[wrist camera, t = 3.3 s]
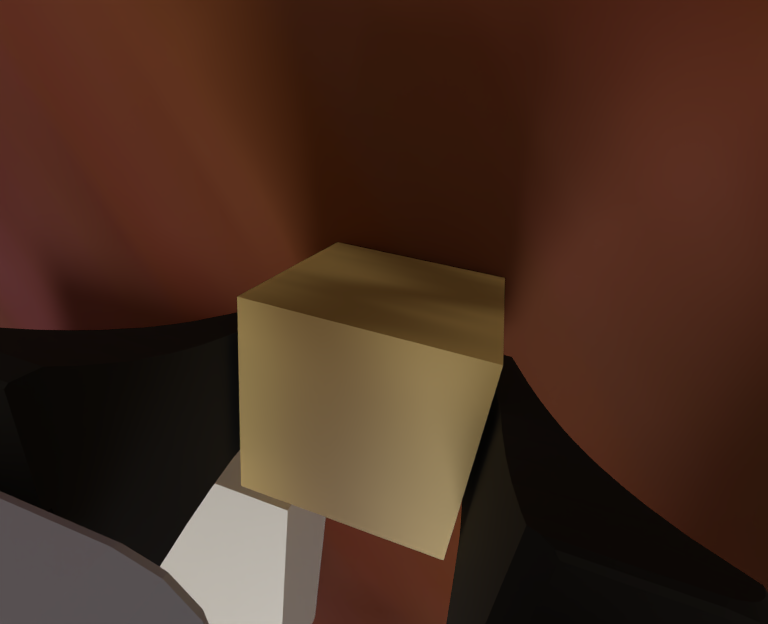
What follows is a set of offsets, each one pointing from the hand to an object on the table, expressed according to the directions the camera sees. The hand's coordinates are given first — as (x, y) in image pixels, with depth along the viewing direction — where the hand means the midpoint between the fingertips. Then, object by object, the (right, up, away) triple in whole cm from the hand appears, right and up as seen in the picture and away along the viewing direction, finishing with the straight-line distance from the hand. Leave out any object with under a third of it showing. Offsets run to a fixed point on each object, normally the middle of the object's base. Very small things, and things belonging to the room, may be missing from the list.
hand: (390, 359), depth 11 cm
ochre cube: (0, +1, +1) cm, 2 cm away
